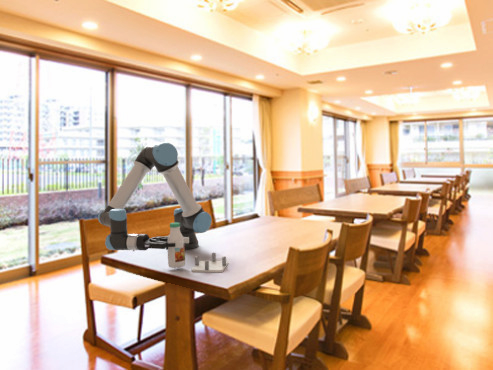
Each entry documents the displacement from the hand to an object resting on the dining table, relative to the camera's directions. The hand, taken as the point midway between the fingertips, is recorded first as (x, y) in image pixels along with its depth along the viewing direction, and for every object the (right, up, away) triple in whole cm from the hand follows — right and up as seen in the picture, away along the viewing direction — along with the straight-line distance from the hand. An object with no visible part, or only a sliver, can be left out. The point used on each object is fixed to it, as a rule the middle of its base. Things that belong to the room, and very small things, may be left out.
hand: (185, 242), depth 160 cm
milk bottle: (-4, -11, +2) cm, 12 cm away
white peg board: (+11, -12, +3) cm, 17 cm away
